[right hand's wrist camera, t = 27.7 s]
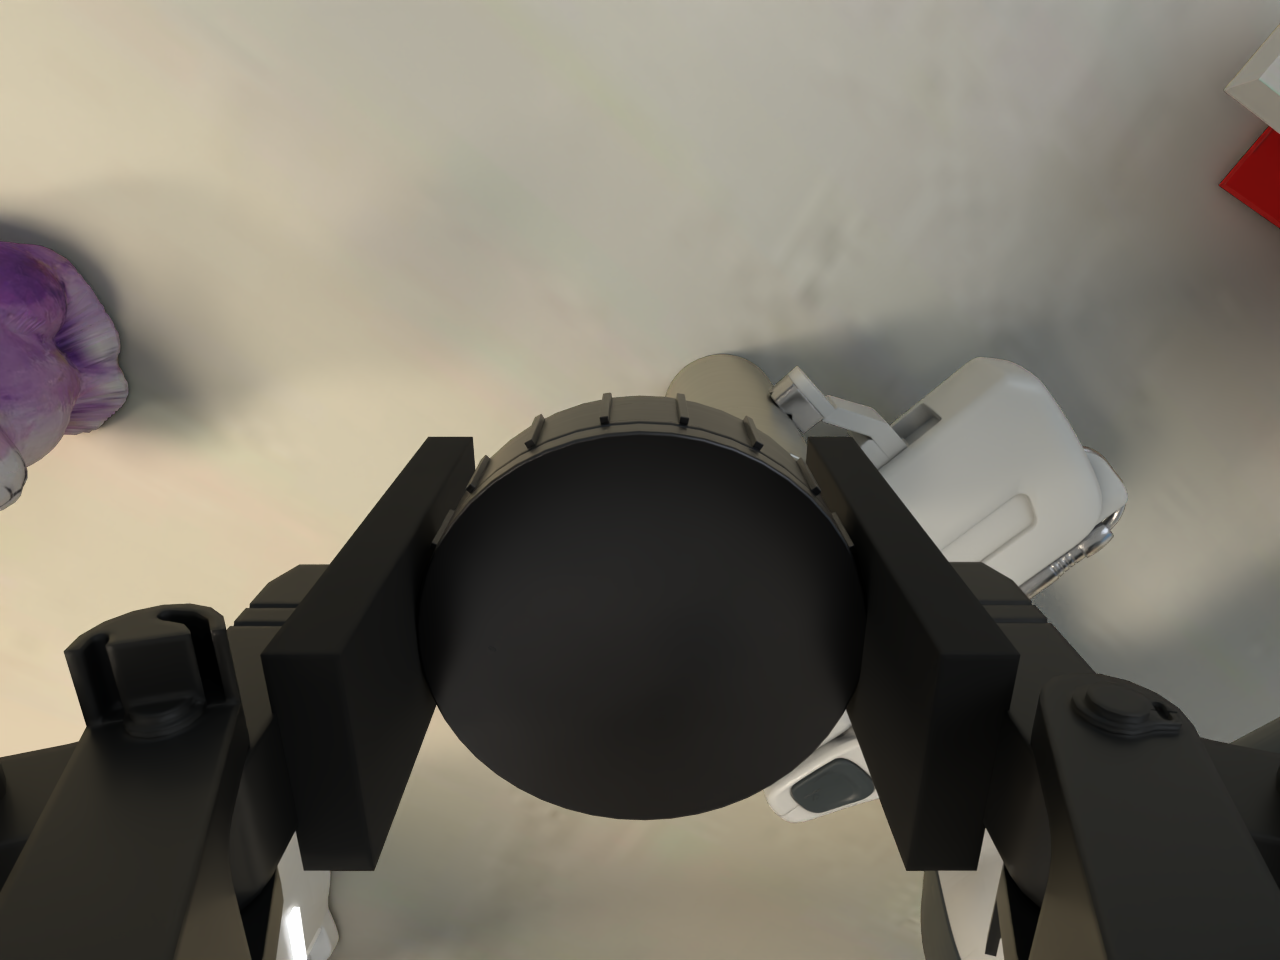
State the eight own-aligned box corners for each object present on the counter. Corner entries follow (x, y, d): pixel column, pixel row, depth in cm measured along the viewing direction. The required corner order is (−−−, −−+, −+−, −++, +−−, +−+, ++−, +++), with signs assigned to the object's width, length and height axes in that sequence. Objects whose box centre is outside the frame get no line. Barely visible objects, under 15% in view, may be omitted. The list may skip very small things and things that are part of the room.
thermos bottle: (708, 483, 38) (740, 655, 25) (640, 400, 37) (634, 533, 23) (799, 418, 37) (885, 561, 23) (732, 330, 36) (783, 426, 22)
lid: (762, 318, 10) (784, 344, 9) (895, 674, 12) (931, 744, 11) (365, 486, 11) (322, 535, 10) (549, 793, 13) (537, 874, 12)
